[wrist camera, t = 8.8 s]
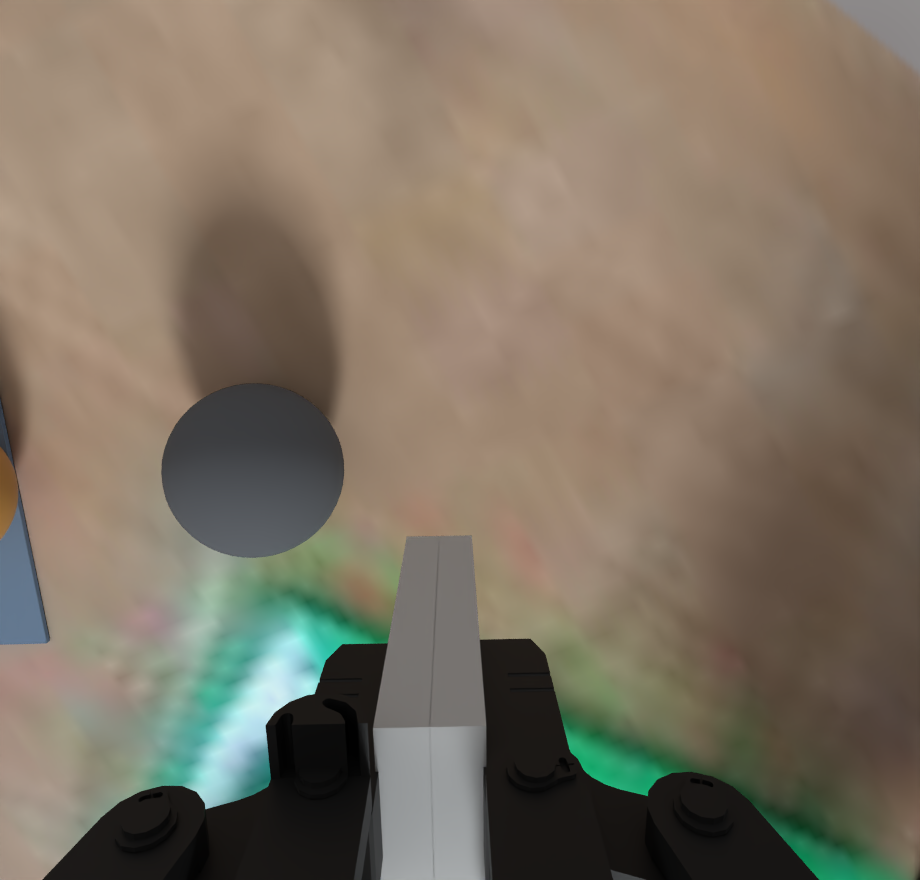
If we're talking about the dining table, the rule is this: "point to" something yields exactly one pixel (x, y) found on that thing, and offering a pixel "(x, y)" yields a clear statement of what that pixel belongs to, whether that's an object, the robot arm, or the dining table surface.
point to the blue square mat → (18, 577)
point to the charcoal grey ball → (252, 470)
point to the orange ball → (7, 493)
